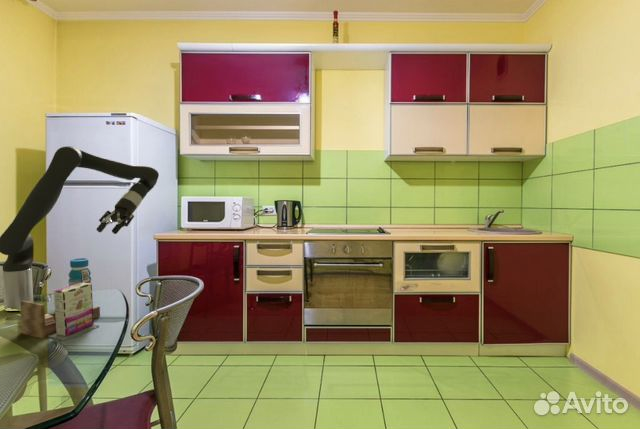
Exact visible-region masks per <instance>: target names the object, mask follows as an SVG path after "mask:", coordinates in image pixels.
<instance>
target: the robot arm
mask: <svg viewBox="0 0 640 429" xmlns="http://www.w3.org/2000/svg"><path fill="white" fill-rule="evenodd" d="M77 168H79V169H80V168H82V169H88V170H93V171H97V172H100V173H103V174H104V175H105V174H106V175H108V176H112V177H114V178H119V179H122V180H127V181H133V180H134V179H139V180H138V181H137V182H135V183H133V184H132V185H131V186H130V188H129V189H128V190H127V191H126V192H125V193H124V194H123V195H122V196H121V197H120V199H119V200H118V201H117V202H116V203H115V205H114V210H113V211H110V210H106V211H105V212H104V214H103V215H102V216H101V217H100V218H99V219H98V222H100V224H99V225H98V226H97V228H96V231H97V232H98V233H102V232H103V231H104V229H106V227H107V226H108V225H110V224H113V223H117V224H115V225H114V227H113V228H112V229H111V233H112V234H114V235H116V234H117V233H119V231H120V230H121V229H122V228H124V227H125V228H126V227H129V225H130V223H131V222H132V221H133V220H134V218H135V215H134V213H135V211H136V210H137V209H138V207H139V206H140V204H141V203H142V201H143V200H144V198H145V197H146V196H147V194H148V193H149V192H151V191H152V189H153V188H154V187H155V186H156V185H157V183H158V179H159V176H160V174H159V171H158V170H156V169H155V168H153V167H152V166H148V165H147V166H146V165H145V166H143V165H133V164H128V163H125V162H121V161H116V160H112V159H109V158H104V157H101V156H96V155H93V154H91V153H89V152H86V151H84V150H81V149H79V148H77V147H74V146H69V145H67V146H61V147H60V148H57V150H56V151H55V152H54V155H53V156H52V159H51V161H50V164H49V165H48V167H47V170H46V171H45V173H44V174H43V175H42V176H41V178H40V179H39V180H38V182H37V183H36V184H35V186H33V188H32V189H31V191H30V193H29V194H28V196H27V198H26V199H25V201H24V202H23V204H22V206H21V207H20V209H19V211H18V213H17V214H16V216H15V217H14V219H13V220H12V222H11V223H10V224H9V225H8V226H7V228H6V229H5V231H4V232H2V234H1V235H0V254H2V255H5V256H7V258H6V260H5V261H4V262H3V264H2V280H3V287H2V290H3V291H2V292H3V294H2V295H3V309H4V308H5V309H7V308H11V309H21V305H20V301H22V300H25V301H30V302H34V290H33V289H34V288H33V287H34V285H33V271H32V270H33V266H32V264H33V262H34V254H35V251H34V249H35V246H34V243H35V242H34V239H33V236H32V235H31V234H30V233H31V232H32V230H33V229H34V228H35V227H36V226H37V225H38V224H39V223H40V222H41V221H42V220H44V218H46V217H47V215H48V214H49V213H50V212H51V211H52V209H53V208H54V206H55V205H56V203H57V201H58V200H59V198H60V195H61V193H62V190H63V187H64V185H65V183H66V181H67V180H68V178H69V177H70V175H71V174H72V172H73V171H74V170H75V169H77ZM5 309H4V310H5Z"/></svg>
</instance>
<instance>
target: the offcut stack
mask: <svg viewBox="0 0 640 429" xmlns="http://www.w3.org/2000/svg"><path fill="white" fill-rule="evenodd" d="M48 314H49V313H45V325H46V324H49V323H52V322H55V320H54V319H53V316H51V315H48Z"/></svg>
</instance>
